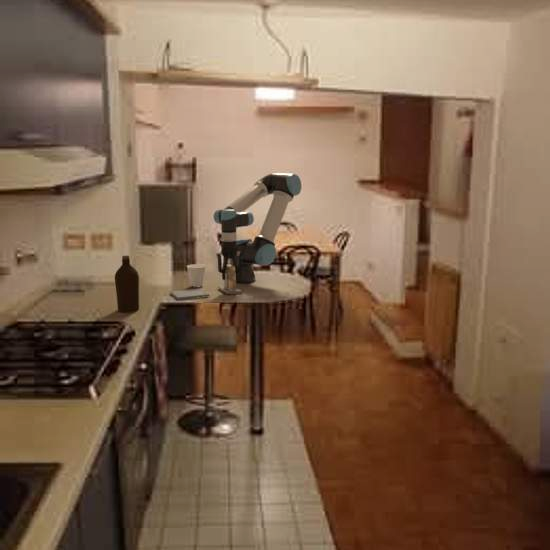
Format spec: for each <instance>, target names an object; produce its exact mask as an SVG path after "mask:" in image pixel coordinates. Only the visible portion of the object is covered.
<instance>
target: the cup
mask: <svg viewBox="0 0 550 550" xmlns="http://www.w3.org/2000/svg"><path fill="white" fill-rule="evenodd" d="M186 268H187V273H188V274H187V275H188V278H189V283H190V287H192V286H193V287H192V288H195V287H197V288H199V287H198V286H202V285H204V284H203V283H204V279H205V278H204V277H205V271H206V265H205V264H199V263H196V264H193V263H192V264H188V265H186ZM202 287H203V286H202Z"/></svg>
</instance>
